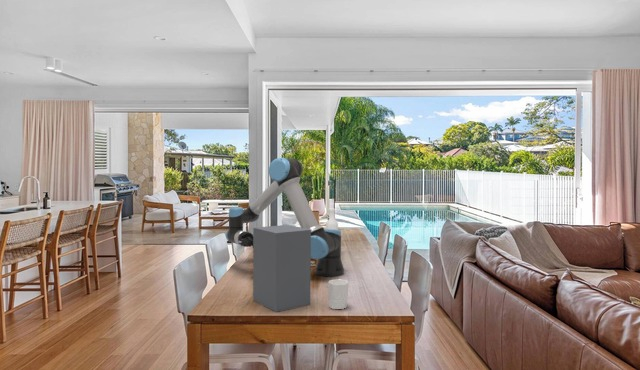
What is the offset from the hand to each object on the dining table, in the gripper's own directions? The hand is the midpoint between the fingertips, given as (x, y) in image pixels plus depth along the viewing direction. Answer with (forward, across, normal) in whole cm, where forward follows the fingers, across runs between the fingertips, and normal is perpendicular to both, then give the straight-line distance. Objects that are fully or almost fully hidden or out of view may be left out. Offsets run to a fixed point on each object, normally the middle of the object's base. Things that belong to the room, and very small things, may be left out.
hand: (266, 245), depth 204 cm
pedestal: (+31, +11, -18) cm, 37 cm away
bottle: (-31, -64, -18) cm, 74 cm away
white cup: (+49, -4, -18) cm, 52 cm away
